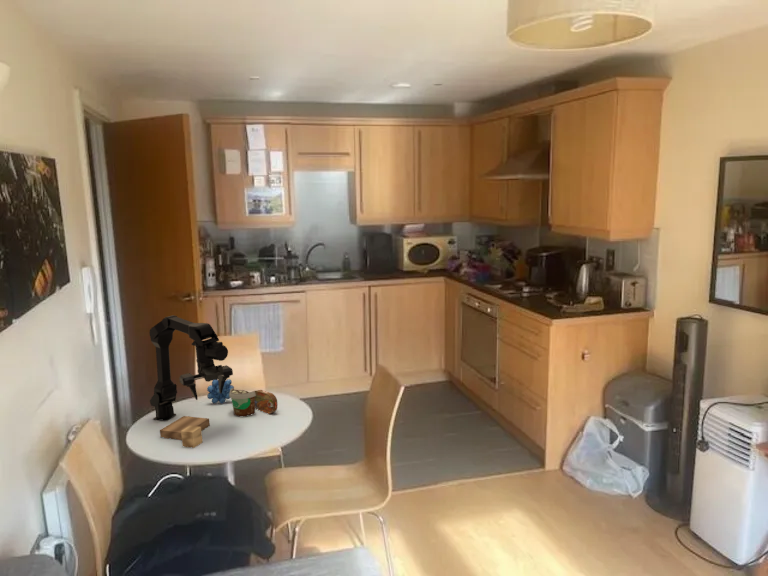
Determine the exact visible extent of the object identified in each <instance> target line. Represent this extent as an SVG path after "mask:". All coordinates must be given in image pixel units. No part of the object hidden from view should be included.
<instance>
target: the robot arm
mask: <svg viewBox="0 0 768 576" xmlns="http://www.w3.org/2000/svg"><path fill="white" fill-rule="evenodd" d="M175 331H177V332H181V333H184V334H187V335H188V338H190V340H192V341H193V342H191V346H195V356H196V358H195V359H196V364H197V374H192V373H191V372H189V373H184V374H180V376H179V383H180V384H181V385H183V386H185V387H188V388H189V389H190V391H191V393H192V395H193V396H194V399H195V400H196V401H198V393H197V389H196V383H195V381H197V380H201V379H204V381H205V382H206V383H208V382H211V381H213V380H218V384H219V392H220V394H222V390H223V386H224V383H225V381H226V380H227V379H230V377H231V376H234V371H233V368H232V367H231V366H229V365H227V364H225V365H222V364H220V365H219V364H218V365H215V361H219V362H221V361H222V362H223V361H224V360H226V359H227V357H228V354H229V350H228V348H227V346H226V345H224V344H223V342H222V341H220V338H219V337H218V335H217V333H216V332H215V331H214V328H213V327H212V325H211V324H210V323H207V322H192V321H189V320H186V319H184V318H182V317H179V316H178V315H170V316H165V317H164V318H162V319H161V320H160V321H159V322H158V323H157V324H155V325H154V326H152V327H151V328H150V329H149V337H150V342H151V344H153V346H154V347H155V357H156V374H157V382H156V383H155V385H154V388H153V394H152V396H151V398H150V399H149V403H150V406H151V407H154V408H155V417H153V420H155V421H156V420H157V421H165V422H167V421H169V420H171V419H172V418H174V417H175V416H177V413H175V412H174V411H175V409H174V406H173V402H176V400H177V399H176V398H177V395H178V389H177V388H178V387H177V384H176V383H174V382H173V380H172V377H171V376H172V375H171V361H170V358H171V357H170V345H171V343H172V341H173V339H174V338H173V335H174V332H175Z"/></svg>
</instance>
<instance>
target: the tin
mask: <svg viewBox="0 0 768 576" xmlns="http://www.w3.org/2000/svg"><path fill="white" fill-rule="evenodd" d="M254 391H255V394H256V396H255V410H257V409H258V410H257V411H259V410H260V412H262V411H263V413H265V414H267V413H268V414H270V415H271V414H273V413H275V412H276V411H277V410H278V399H277V397H276V395H275V394H274V393H272V392H270V391H267V390H263V389H257V390H254ZM268 414H267V415H268Z"/></svg>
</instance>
